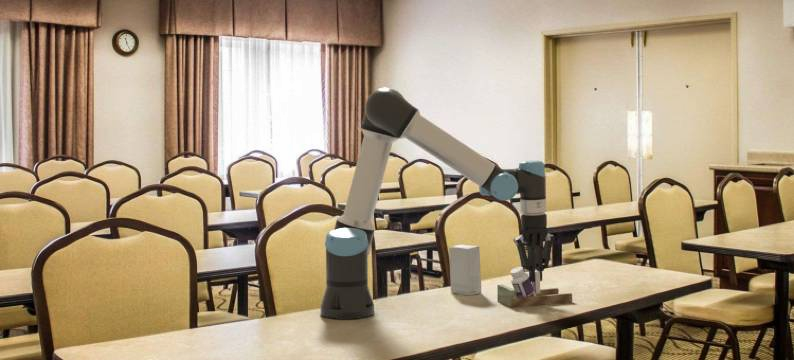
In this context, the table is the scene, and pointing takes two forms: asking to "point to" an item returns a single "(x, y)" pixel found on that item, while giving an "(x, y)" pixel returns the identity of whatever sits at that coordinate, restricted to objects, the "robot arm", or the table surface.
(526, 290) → the pill bottle
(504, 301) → the rail
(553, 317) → the table surface
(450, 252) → the skincare box
